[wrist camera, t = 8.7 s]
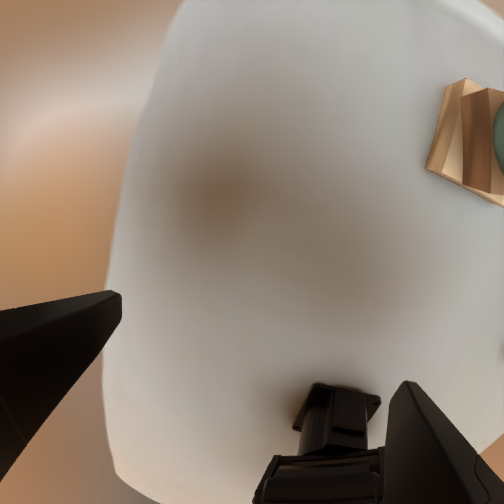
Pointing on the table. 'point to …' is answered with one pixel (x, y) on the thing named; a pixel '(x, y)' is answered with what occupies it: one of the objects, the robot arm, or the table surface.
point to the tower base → (454, 140)
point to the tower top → (481, 141)
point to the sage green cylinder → (499, 136)
